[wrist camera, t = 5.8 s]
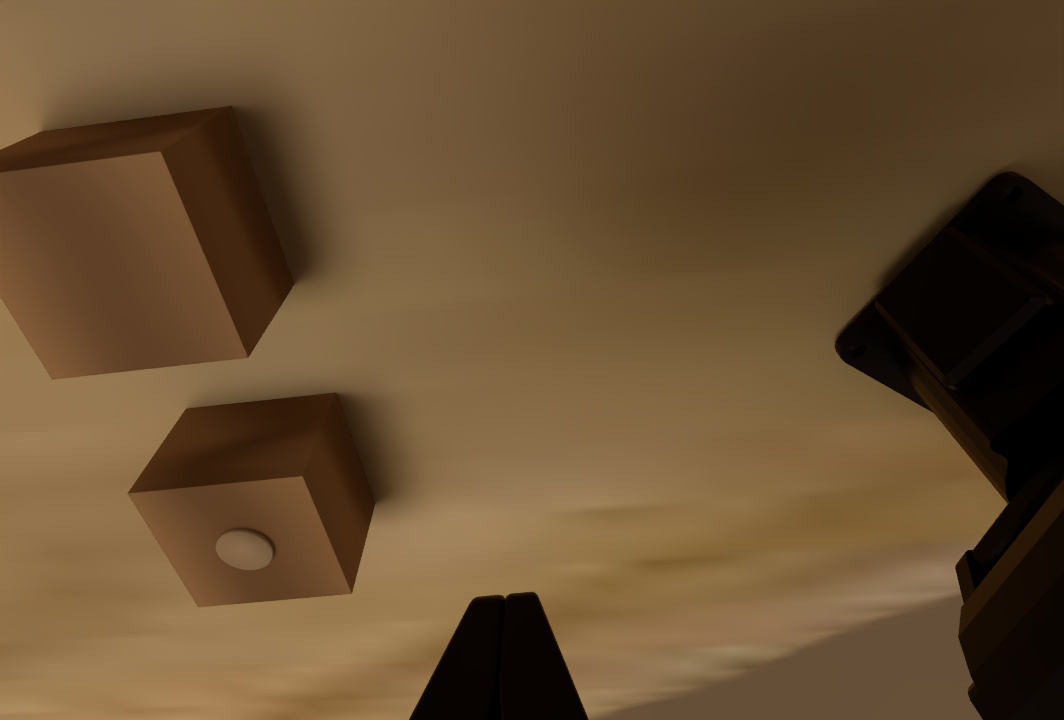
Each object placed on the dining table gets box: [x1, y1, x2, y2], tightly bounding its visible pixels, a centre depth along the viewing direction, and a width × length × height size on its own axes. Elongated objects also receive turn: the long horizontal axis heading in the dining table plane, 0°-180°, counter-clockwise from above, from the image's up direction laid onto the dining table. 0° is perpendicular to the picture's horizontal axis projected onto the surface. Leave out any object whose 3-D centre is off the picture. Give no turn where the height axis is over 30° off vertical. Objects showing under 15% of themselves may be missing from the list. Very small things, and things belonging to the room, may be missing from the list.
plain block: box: [0, 106, 294, 380], centre depth 17 cm, size 5×5×4 cm
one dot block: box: [128, 393, 375, 607], centre depth 22 cm, size 5×5×4 cm
